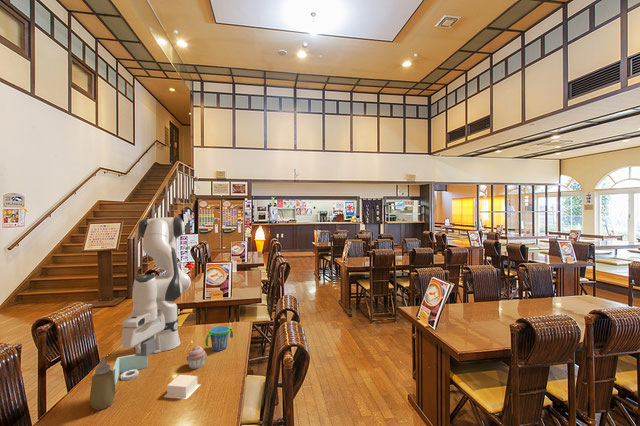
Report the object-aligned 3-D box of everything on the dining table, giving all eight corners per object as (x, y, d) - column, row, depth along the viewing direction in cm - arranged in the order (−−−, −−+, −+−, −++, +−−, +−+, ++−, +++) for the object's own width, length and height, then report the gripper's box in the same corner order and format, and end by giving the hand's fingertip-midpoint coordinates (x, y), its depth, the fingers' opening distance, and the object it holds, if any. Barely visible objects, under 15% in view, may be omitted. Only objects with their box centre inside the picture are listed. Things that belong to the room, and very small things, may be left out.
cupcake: (196, 373, 136) (196, 351, 136) (181, 369, 139) (181, 347, 140) (211, 364, 144) (211, 343, 144) (197, 360, 148) (197, 340, 148)
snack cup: (228, 341, 171) (228, 323, 171) (237, 346, 163) (237, 328, 163) (201, 349, 160) (201, 330, 160) (209, 356, 152) (209, 336, 152)
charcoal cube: (135, 355, 121) (135, 343, 121) (144, 350, 126) (144, 338, 126) (146, 356, 120) (146, 343, 120) (155, 350, 125) (155, 338, 125)
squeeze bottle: (98, 399, 117) (98, 353, 117) (120, 398, 118) (120, 352, 118) (84, 413, 109) (83, 363, 109) (107, 411, 109) (107, 362, 110)
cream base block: (167, 395, 118) (167, 385, 118) (179, 384, 126) (179, 374, 126) (185, 397, 116) (185, 386, 116) (197, 385, 124) (197, 376, 124)
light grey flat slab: (148, 400, 116) (148, 398, 116) (171, 380, 130) (171, 379, 130) (190, 404, 113) (190, 402, 113) (210, 384, 127) (210, 382, 127)
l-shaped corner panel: (112, 387, 126) (112, 369, 126) (117, 374, 137) (117, 357, 137) (145, 380, 132) (145, 363, 132) (147, 367, 142) (147, 351, 142)
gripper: (156, 307, 134) (156, 338, 134) (118, 323, 113) (118, 360, 113) (168, 307, 133) (169, 339, 133) (132, 324, 112) (133, 361, 112)
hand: (145, 349), depth 123 cm, fingers closed on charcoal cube, 5 cm apart
